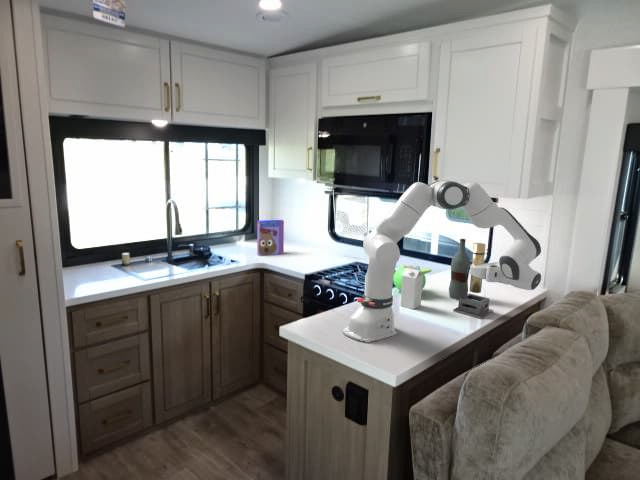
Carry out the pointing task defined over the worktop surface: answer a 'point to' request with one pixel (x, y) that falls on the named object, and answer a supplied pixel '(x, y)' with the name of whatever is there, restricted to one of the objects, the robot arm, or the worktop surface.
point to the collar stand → (473, 306)
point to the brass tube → (477, 260)
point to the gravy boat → (399, 272)
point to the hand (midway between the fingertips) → (476, 265)
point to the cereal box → (270, 237)
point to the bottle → (459, 273)
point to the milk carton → (411, 287)
